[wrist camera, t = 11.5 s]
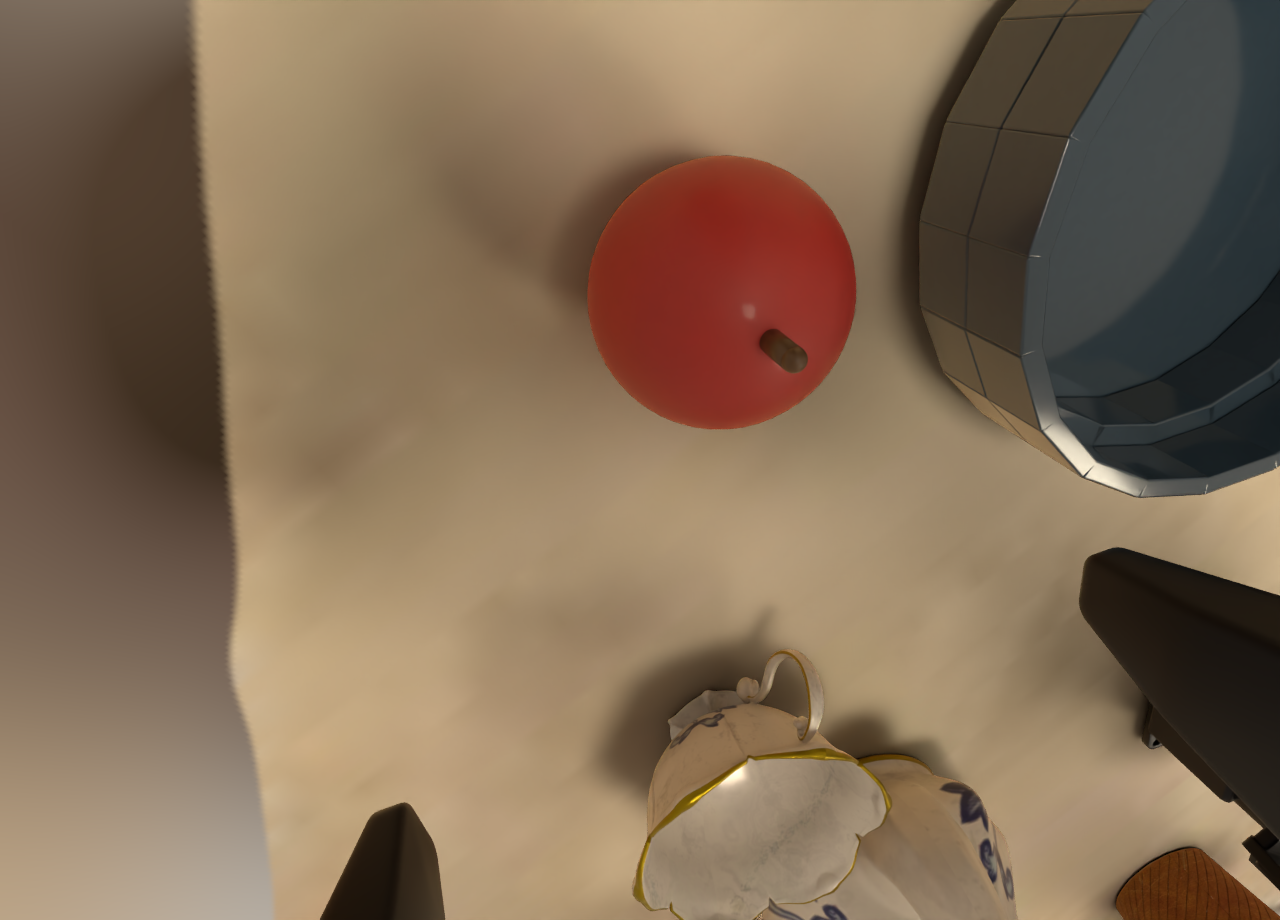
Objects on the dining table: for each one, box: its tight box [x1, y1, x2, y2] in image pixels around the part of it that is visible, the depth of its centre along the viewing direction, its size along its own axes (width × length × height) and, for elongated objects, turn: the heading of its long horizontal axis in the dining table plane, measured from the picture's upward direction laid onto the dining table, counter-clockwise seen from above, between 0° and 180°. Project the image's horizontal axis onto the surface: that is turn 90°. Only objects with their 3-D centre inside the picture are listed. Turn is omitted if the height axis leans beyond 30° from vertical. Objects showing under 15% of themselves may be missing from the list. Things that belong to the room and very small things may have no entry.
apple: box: [587, 155, 856, 429], centre depth 16 cm, size 6×6×7 cm
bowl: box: [919, 0, 1280, 498], centre depth 20 cm, size 15×15×5 cm
